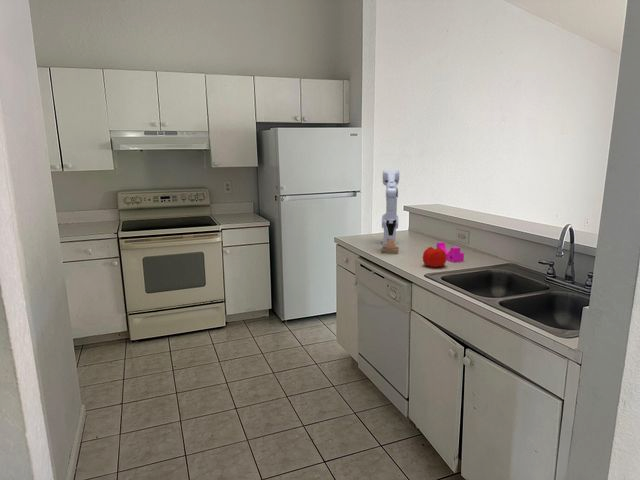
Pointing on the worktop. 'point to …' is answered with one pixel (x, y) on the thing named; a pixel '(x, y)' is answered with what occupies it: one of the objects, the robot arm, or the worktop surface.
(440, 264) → the tomato
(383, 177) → the robot arm
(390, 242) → the terracotta block
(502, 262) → the worktop surface
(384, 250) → the walnut block
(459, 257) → the toy block
